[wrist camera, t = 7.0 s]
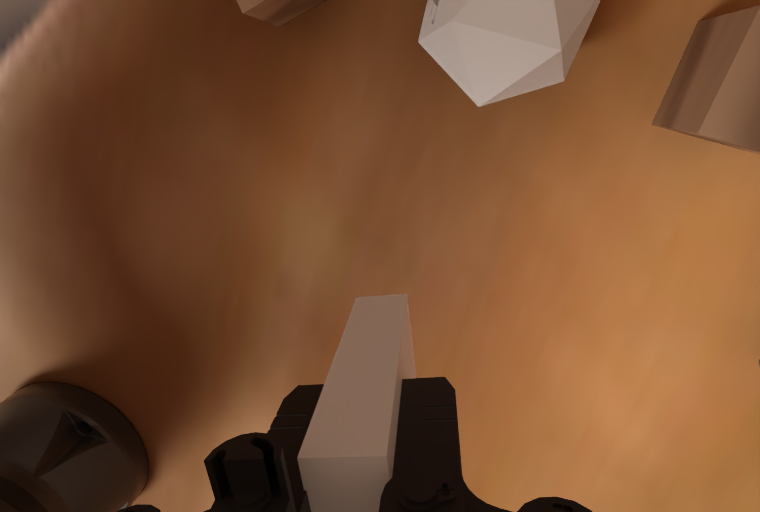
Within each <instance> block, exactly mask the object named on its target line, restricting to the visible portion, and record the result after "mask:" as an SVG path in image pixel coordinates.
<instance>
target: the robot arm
mask: <svg viewBox="0 0 760 512" xmlns="http://www.w3.org/2000/svg"><path fill="white" fill-rule="evenodd" d="M204 463H205V466H206V470H207V473H208V477H209V480H210V483H211V487H212V490H213V494H214V497H215V501H214V503H213V505H212V507H211V509H209V510H206V511H204V512H511V511H508V510H504V509H500V508H497V507H495V506H492V505H489V504H487V503H485V502H484V501H482V500H481V499H479V498H477V497H476V496H475V495H474V494H473V493H472V492H471V491H470V490H469V489H468V487H467V485H466V484H465V482H464V480H463V476H462V467H461V455H460V442H459V430H458V419H457V407H456V395H455V389H454V388H453V387H452V385H451V384H450V383H449V381H448V380H447V379H446V378H445V377H433V378H416V370H415V361H414V353H413V344H412V335H411V326H410V318H409V309H408V300H407V294H396V295H383V296H369V297H356V300H355V302H354V305H353V308H352V310H351V313H350V316H349V319H348V321H347V324H346V327H345V329H344V332H343V335H342V338H341V340H340V343H339V346H338V348H337V351H336V354H335V357H334V359H333V362H332V365H331V368H330V370H329V373H328V376H327V378H326V381H325V384H319V385H298V386H297V387H296V388H295V389H294V390H293V391H292V392H291V393H290V394H289V395H287V396H286V397H285V398H284V399H283V402H282V404H281V406H280V408H279V410H278V412H277V416H276V417H275V418H274V420H273V422H272V424H271V426H270V430H269V431H268V433H267V434H266V433H257V432H255V433H249V434H243V435H239V436H237V437H234V438H232V439H229V440H227V441H225V442H224V443H222V444H221V445H219V446H218V447H216V448H215V449H214V450H213V451H212V452H211V453H210V454H209V455H208V456H207V458H206V459H205V460H204ZM147 476H148V460H147V455H146V452H145V449H144V446H143V444H142V441H141V440H140V438H139V436H138V434H137V433H136V431H135V430H134V428H133V427H132V425H131V424H130V423H129V422H128V421H127V419H126V418H125V417H124V416H123V415H122V414H121V413H120V412H119V411H117V410H116V409H115V408H114V407H113V406H111V405H110V404H109V403H107V402H106V401H104V400H103V399H101V398H100V397H98V396H96V395H94V394H92V393H90V392H88V391H86V390H84V389H81V388H78V387H75V386H72V385H68V384H62V383H54V382H43V383H36V384H32V385H28V386H26V387H24V388H22V389H20V390H18V391H17V392H15V393H14V394H12V395H11V396H10V397H8V398H7V399H5V400H4V401H3V402H1V403H0V512H161V511H160V510H159V509H157V508H156V507H154V506H152V505H134V506H131V505H132V504H133V502H134V501H135V500H136V498H137V497H138V496H139V494H140V493H141V492H142V490H143V488H144V486H145V484H146V481H147ZM517 512H592V511H591V510H589V509H587V508H586V507H584V506H582V505H580V504H579V503H577V502H575V501H572V500H568V499H563V498H559V497H540V498H537V499H534V500H532V501H530V502H527V503H525V504H524V505H523V506H522V507H521V508H520V509H519V510H518V511H517Z"/></svg>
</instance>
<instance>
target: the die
mask: <svg viewBox="0 0 760 512" xmlns="http://www.w3.org/2000/svg"><path fill="white" fill-rule="evenodd" d="M600 1H601V0H428V1H427V5H426V9H425V14H424V18H423V22H422V27H421V31H420V35H419V40H418V43H419V44H420V45H421V46H422V47H423V48H424V49H425V50H426V51H427V52H428V53H429V54H430V55H431V56H432V58H433V59H434V60H435V61H436V62H437V63H438V64H439V65H440V66H441V67H442V68H443V69H444V70H445V72H446V73H447V74H448V75H449V76H450V77H451V78H452V79H453V80H454V81H455V82H456V83H457V84H458V85H459V87H460V88H461V89H462V90H463V91H464V92H465V93H466V94H467V95H468V96H469V97H470V98H471V99H472V101H473V102H474V103H475V104H476V105H477V106H478V107H480V106H484V105H487V104H490V103H494V102H497V101H500V100H504V99H507V98H510V97H514V96H517V95H520V94H524V93H527V92H530V91H534V90H537V89H540V88H544V87H547V86H550V85H554V84H557V83H560V82H564V80H565V78H566V76H567V74H568V71H569V69H570V67H571V65H572V63H573V60H574V58H575V56H576V54H577V52H578V49H579V47H580V45H581V43H582V41H583V38H584V36H585V34H586V32H587V30H588V27H589V25H590V23H591V21H592V19H593V16H594V14H595V12H596V10H597V8H598V6H599V3H600Z"/></svg>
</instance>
